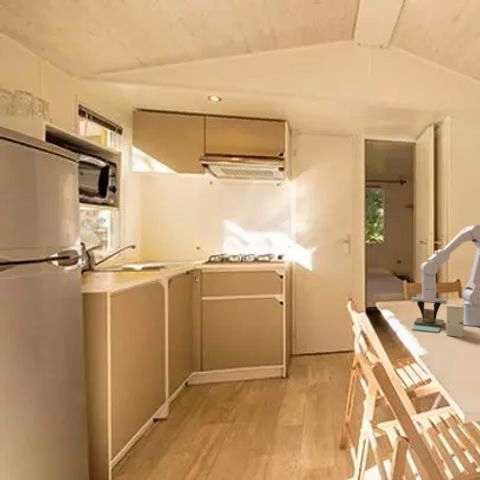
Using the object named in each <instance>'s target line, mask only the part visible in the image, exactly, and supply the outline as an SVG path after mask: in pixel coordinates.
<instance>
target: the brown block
mask: <svg viewBox="0 0 480 480" xmlns="http://www.w3.org/2000/svg"><path fill="white" fill-rule="evenodd" d="M424 322H431V323H435V320H434V308H432V309H431V308H424Z"/></svg>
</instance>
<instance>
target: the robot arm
mask: <svg viewBox="0 0 480 480" xmlns="http://www.w3.org/2000/svg"><path fill="white" fill-rule="evenodd" d="M465 242H472V243H473V244H474V245H475V246H476V252H475V256H474V259H473V265H472V268H471V273H470V277H469V281H468V282H467V284H465V287H464V289H463V290H462V292H461V298H462V299H463V300H464V301H463V306H464V321H463V326H470V327H471V326H472V327H480V224H477V225H473V224H469V225H466V226H465V227H464V228H463V229H461V230H460V231H459V233H458V234H456V235H455V236H454V238H453V239H452V240H451V241H450V242H449V243H448V244H447V245H446V246H445V247H444V248H443V249H442V248H441V249H438V250H435V251H434V252H433V253H434V254H432V255H431V256H430V257H429V258H427V259H426V261H424V262H422V263H421V265H420V267H419V271H420V274H421V296H415V297H414V296H411V299H410V301H411V303H416V304H417V307H418V308H419V310H420V313H421V318H423V319H424V309H425V303H428V304H433V309H434V320H436V319H437V315H438V312H439V309H440V307H441V305H447V304H448V299H446V298H440V297H439V298H437V282H436V281H437V280H436V279H437V278H436V276H437V275H436V274H438V272H439V269H440V268H441V267H442V266H443V265H444V264H445V263H447V261H449V260H450V255H451V253H453V252H454V251H455V250H456V249H458V248H459V247H460V246H461V245H462V244H463V243H465Z"/></svg>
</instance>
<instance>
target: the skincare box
mask: <svg viewBox="0 0 480 480" xmlns="http://www.w3.org/2000/svg"><path fill="white" fill-rule="evenodd" d="M463 321H464V304H463V305H462V304H453V303H447V304H446V331H445V332H446V336H451V337H460V338H463V337H464V325H463Z"/></svg>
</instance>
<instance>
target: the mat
mask: <svg viewBox="0 0 480 480" xmlns="http://www.w3.org/2000/svg"><path fill="white" fill-rule="evenodd" d="M411 331H414V332H415V331H416V332H424V333H434V334H439V333H440V331H441V328H439V327H429V326H419V325H414V324H413V327H412V328H411Z"/></svg>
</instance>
